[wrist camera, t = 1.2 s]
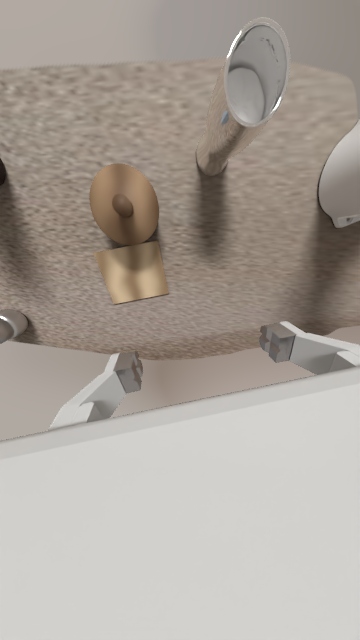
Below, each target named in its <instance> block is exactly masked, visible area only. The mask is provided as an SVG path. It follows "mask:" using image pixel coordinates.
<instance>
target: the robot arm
mask: <svg viewBox="0 0 360 640" xmlns="http://www.w3.org/2000/svg"><path fill="white" fill-rule="evenodd" d="M319 200H320V204H321V207H322V209H323V210H324V211H325V212H326V213H327V214H328V215H329V216H330V217H331V218H332V220H333V223H334V226H335V227H336V228H341V227H345V226H347V225H350V224H352V223H355V222H357V221H360V119H359V121H358V122H357V124H356V126H355V127H354V128H353V129H352V130H351V131H350V132H349V133H348V134H347V135H346V136H345V137H344V138H343V139H342V140H341V141H340V142H339V143H338V145H337V146H336V147H335V149H334V150H333V152H332V153H331V155H330V156H329V158H328V160H327V162H326V164H325V167H324V169H323V172H322V175H321V179H320V184H319ZM260 332H261V333H262V335H261V336H260V338H259V343H260V346H261V348H262V349H263V350H264V351H266V352H268V353H269V356H270V357H271V358H272V359H273V360H274V362H276V363H277V362H283V361H289V360H290V362H292V363H294V364H296V365H298V366H300V367H303V368H304V369H307V370H309V371H311V372H313V373H315V374H317V375H315V376H310V377H305V378H300V379H296V380H291V381H286V382H281V383H276V384H271V385H266V386H262V387H257V388H252V389H247V390H242V391H237V392H233V393H228V394H223V395H218V396H213V397H209V398H204V399H200V400H194V401H190V402H185V403H180V404H175V405H170V406H165V407H161V408H156V409H151V410H146V411H141V412H137V413H132V414H127V415H122V416H118V417H113V418H110V416H111V415H112V414H113V412H114V411H115V409H116V408H117V406H118V405H119V404H120V402H121V401H122V399H123V398H124V396H125V395H126V393H130V392H135V391H139V390H140V389H141V382H142V381H141V378H140V377H141V376H142V374H143V367H142V363H141V360H139V359H138V357H139V354H138V352H137V351H136V350H134V351H128V352H122V353H117V354H112V355H111V357H110V359H109V361H108V364H107V366H106V368H105V371H104V373H103V374H100V375H99V376H98V377H97V378H96V379H94V380H93V381H92V382H91V383H90V384H88V385H87V386H86V387H85V388H84V389H82V390H81V391H80V392H79V393H78V394H77V395H75V396H74V397H73V398H72V399H71V400H70V401H68V402H67V403H66V404H65V405H64V406H62V407H61V409H60V411H59V413H58V414H57V416H56V418H55V419H54V421H53V422H52V424H51V426H50V428H49V429H48V431H45V432H40V433H35V434H31V435H26V436H21V437H17V438H12V439H6V440H2V441H0V640H360V345H357V344H353V343H349V342H344V341H340V340H336V339H332V338H328V337H324V336H320V335H315V334H311V333H305V332H303V331H302V330H300V329H299V328H297V327H295V326H294V325H292V324H290V323H289V322H287V321H282V322H278V323H274V324H269V325H264V326H262V327H261V329H260Z"/></svg>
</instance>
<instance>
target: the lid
mask: <svg viewBox="0 0 360 640" xmlns="http://www.w3.org/2000/svg"><path fill="white" fill-rule="evenodd" d="M90 206H91V211H92V214H93V216H94V219H95V221H96V223H97V224H98V226H99V227H100V229H101V230H102V231H103V232H104V233H105V234H106V235H107V236H108V237H109V238H111V239H112V240H114V241H116V242H118V243H120V244H124V245H137V244H140V243H142V242H144V241H146V240H147V239H148V238H150V236H151V235H152V234H153V232H154V231H155V229H156V226H157V223H158V219H159V206H158V200H157V196H156V194H155V191H154V189H153V187H152V185H151V184H150V182H149V181H148V180H147V178H146V177H145V176H144V175H143V174H142V173H141V172H139V171H138V170H137V169H135V168H133V167H131V166H129V165H125V164H111V165H108V166H106V167H104V168H103V169H101V170H100V171H99V172H98V173H97V175H96V176H95V178H94V180H93V182H92V185H91V189H90Z"/></svg>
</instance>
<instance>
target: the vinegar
mask: <svg viewBox="0 0 360 640" xmlns="http://www.w3.org/2000/svg"><path fill="white" fill-rule="evenodd" d="M4 178H5V172H4V167H3V164H2V162H1V159H0V186H1V184H2V183H3V182H4Z"/></svg>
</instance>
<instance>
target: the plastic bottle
mask: <svg viewBox="0 0 360 640" xmlns="http://www.w3.org/2000/svg"><path fill="white" fill-rule="evenodd" d="M27 326H28V321H27V319H26V317H25V316H24V315H23V314H22V313H20V312H18V311H15V310H10V309H5V310H0V344H1V343H3V342H5V341H7V340H9V339H11V338H14V337H16V336H18V335H20V334H22V333H23V332H24V331H25V330H26V329H27Z"/></svg>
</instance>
